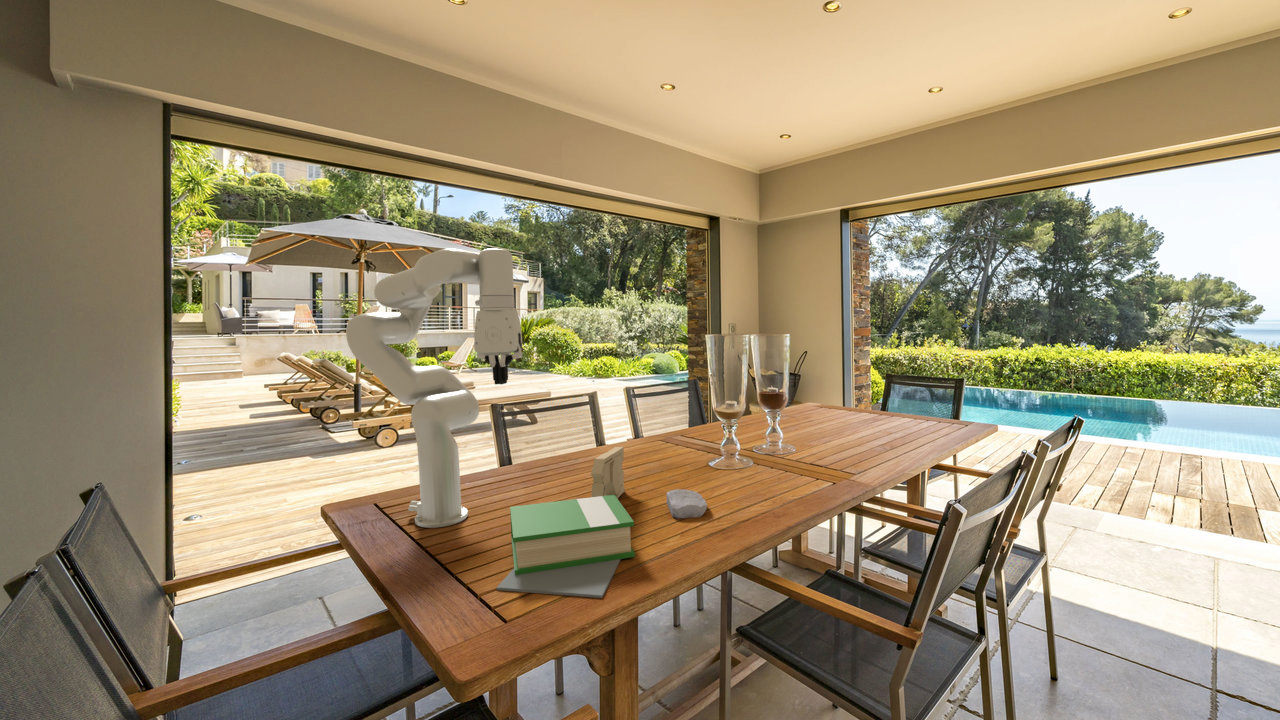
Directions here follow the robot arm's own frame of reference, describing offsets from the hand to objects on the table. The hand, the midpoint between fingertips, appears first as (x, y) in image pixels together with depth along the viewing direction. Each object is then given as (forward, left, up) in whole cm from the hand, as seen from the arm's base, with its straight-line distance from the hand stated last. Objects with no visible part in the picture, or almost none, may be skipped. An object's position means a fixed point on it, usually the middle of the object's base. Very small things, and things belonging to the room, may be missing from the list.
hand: (500, 383), depth 120 cm
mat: (+20, -15, -35) cm, 43 cm away
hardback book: (+7, -13, -31) cm, 34 cm away
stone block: (+41, +19, -36) cm, 58 cm away
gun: (+20, +20, -35) cm, 45 cm away
